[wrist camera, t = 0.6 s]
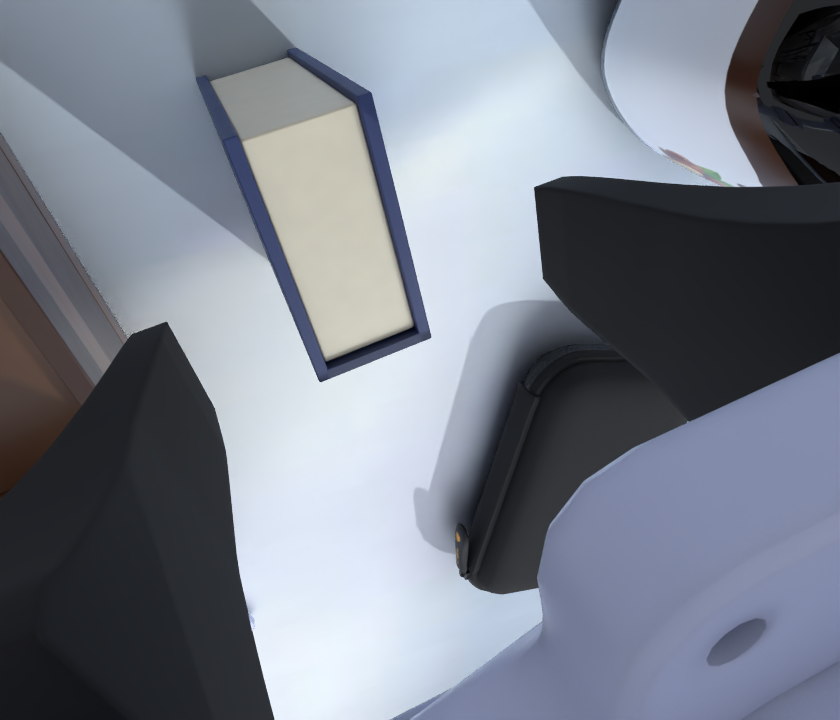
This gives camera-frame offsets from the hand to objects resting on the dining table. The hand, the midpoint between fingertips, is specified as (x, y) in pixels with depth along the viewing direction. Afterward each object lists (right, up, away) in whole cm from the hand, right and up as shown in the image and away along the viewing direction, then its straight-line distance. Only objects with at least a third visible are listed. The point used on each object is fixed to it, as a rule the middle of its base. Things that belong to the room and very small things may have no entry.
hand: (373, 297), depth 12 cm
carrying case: (+8, -6, +20) cm, 22 cm away
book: (-3, +5, +8) cm, 10 cm away
